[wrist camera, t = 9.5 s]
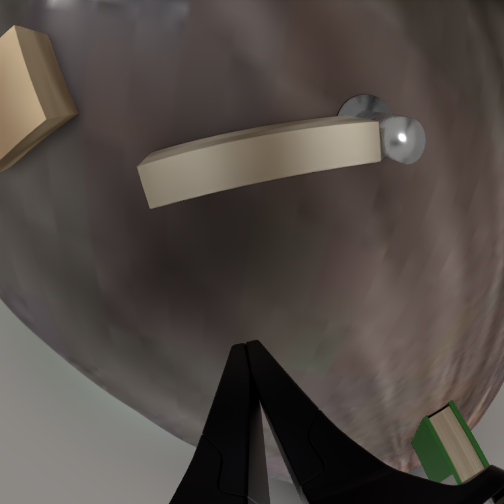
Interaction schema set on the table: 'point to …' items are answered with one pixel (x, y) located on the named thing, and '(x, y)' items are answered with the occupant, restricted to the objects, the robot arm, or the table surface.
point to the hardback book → (448, 447)
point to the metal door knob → (389, 128)
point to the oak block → (29, 93)
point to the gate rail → (257, 157)
